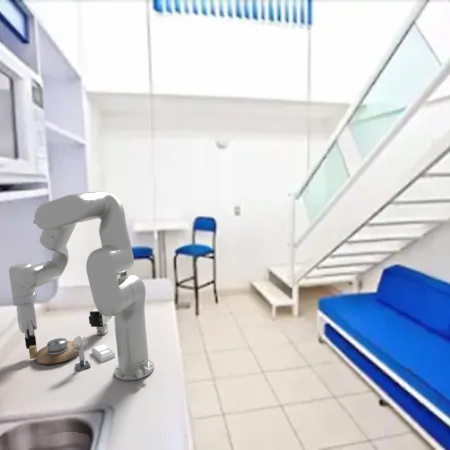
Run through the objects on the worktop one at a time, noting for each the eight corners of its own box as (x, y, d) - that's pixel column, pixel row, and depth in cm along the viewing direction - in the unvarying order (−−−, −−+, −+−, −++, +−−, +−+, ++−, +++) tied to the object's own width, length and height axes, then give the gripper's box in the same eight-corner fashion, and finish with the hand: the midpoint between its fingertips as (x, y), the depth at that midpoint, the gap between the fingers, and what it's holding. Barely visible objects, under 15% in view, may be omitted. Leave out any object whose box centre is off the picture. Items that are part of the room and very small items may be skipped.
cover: (70, 351, 134) (69, 342, 133) (49, 357, 130) (48, 347, 130) (65, 344, 139) (64, 335, 139) (46, 350, 136) (44, 341, 135)
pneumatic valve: (113, 327, 159) (111, 300, 157) (102, 339, 148) (99, 310, 146) (101, 327, 160) (98, 300, 158) (88, 339, 148) (85, 310, 146)
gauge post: (91, 367, 126) (87, 336, 125) (77, 371, 124) (73, 340, 122) (88, 362, 130) (84, 332, 128) (74, 366, 127) (71, 336, 126)
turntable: (83, 341, 144) (82, 331, 144) (78, 359, 130) (76, 348, 129) (36, 348, 140) (34, 338, 140) (25, 368, 126) (23, 356, 125)
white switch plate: (105, 349, 139) (104, 342, 139) (115, 358, 133) (114, 350, 132) (92, 354, 136) (91, 347, 136) (101, 363, 129) (100, 355, 129)
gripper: (10, 296, 137) (16, 343, 140) (16, 306, 126) (23, 357, 128) (32, 291, 142) (38, 337, 144) (40, 300, 130) (46, 350, 132)
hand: (31, 346), depth 136 cm, fingers closed
